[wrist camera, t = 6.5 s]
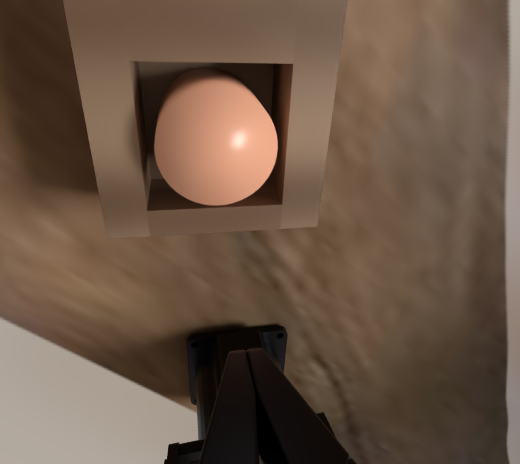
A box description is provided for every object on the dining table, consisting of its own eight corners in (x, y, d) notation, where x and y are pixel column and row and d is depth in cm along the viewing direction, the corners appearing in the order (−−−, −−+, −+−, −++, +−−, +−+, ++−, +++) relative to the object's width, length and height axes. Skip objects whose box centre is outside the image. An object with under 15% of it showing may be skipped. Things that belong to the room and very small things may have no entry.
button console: (294, 189, 21) (317, 226, 18) (119, 196, 20) (107, 238, 16) (336, -258, 13) (393, -344, 10) (39, -307, 11) (-18, -430, 8)
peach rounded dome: (257, 166, 19) (274, 202, 16) (162, 169, 18) (160, 208, 15) (261, 68, 17) (281, 87, 13) (153, 66, 16) (148, 86, 13)
